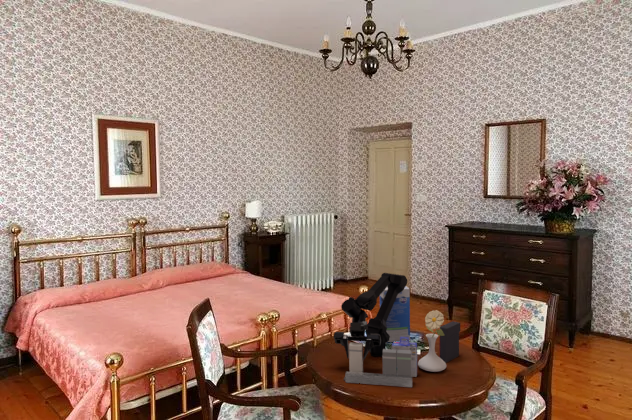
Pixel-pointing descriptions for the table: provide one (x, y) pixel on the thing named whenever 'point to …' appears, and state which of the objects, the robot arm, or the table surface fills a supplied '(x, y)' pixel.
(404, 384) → the rail
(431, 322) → the flower in vase
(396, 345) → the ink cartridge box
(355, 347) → the block
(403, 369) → the block
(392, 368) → the block
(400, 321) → the string lights box
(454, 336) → the dark grey box
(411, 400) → the table surface
